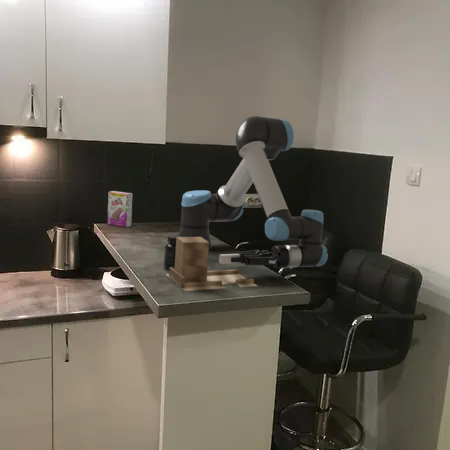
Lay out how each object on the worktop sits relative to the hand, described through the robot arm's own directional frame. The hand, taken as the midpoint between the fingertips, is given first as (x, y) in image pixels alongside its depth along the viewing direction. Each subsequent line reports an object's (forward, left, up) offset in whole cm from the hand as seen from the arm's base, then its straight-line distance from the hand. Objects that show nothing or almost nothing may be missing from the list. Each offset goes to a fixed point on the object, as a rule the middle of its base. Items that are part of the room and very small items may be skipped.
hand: (220, 259), depth 157 cm
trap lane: (+2, -1, -8) cm, 8 cm away
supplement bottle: (+2, -18, -8) cm, 20 cm away
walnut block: (+8, -5, -7) cm, 12 cm away
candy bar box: (-35, -94, -8) cm, 101 cm away
